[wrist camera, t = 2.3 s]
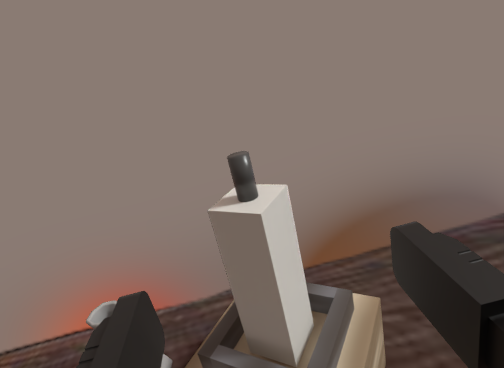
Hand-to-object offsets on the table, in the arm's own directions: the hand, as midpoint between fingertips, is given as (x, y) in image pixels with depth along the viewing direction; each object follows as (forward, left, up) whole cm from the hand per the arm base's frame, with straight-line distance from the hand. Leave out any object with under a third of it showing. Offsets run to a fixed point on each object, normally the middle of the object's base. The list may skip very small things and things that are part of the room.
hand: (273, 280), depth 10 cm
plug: (-7, +9, -15) cm, 19 cm away
